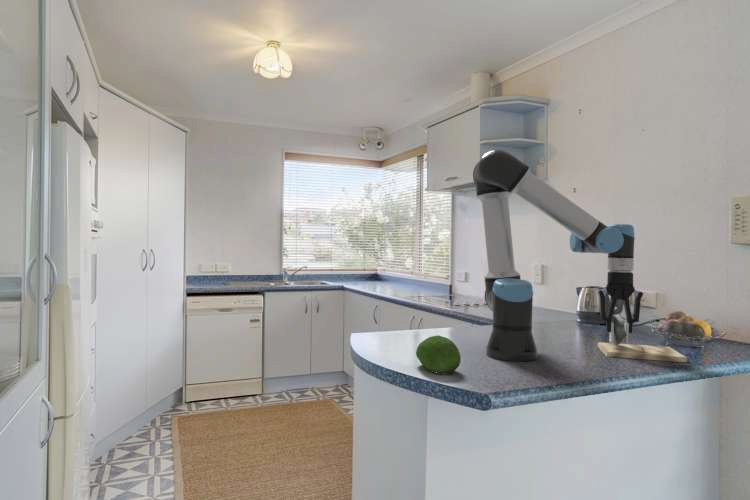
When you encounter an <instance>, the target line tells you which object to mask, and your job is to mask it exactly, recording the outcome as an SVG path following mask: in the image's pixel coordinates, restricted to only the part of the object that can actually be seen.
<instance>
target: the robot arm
mask: <svg viewBox="0 0 750 500" xmlns="http://www.w3.org/2000/svg"><path fill="white" fill-rule="evenodd" d="M531 170H532V169H531V167H530V166H528V165H527V164H526V163H524V162H522V161H521V160H520V159H519V158H517V157H516V156H515V155H514V154H512V153H510V152H508V151H506V150H503V149H493V150H489V151H487V152H486V153H484V154H483V155H482V157H481V158H480V159H479V160H478V162H477V163H476V164H475V166H474V168H473V171H472V179H473V183H474V186H475V192H476V198H477V199H479V201H481V205H482V215H483V217H482V218H483V227H484V235H485V236H484V237H485V246H486V247H485V248H486V255H487V256H486V258H487V268H488V271H487V273H486V275H485V276H484V284H485V290H484V301H485V302H484V303H485V304H486V306H487V308H488V309H489V310H490V311H492V331H491V333H490V336H489V339H488V342H487V345H486V351H485V353H486V356H488V357H490V358H493V359H496V360H502V361H509V362H529V361H530V362H531V361H535V360H537V359H538V353H539V352H538V348H537V345H536V341H535V338H534V336H533V335H534V334H533V300H534V299H533V298H534V297H533V296H534V289H533V284H532V283H531V282H530V281H528V280H525V279H521V274H520V273H519V272H518V271H517V270H516V267H515V257H514V248H513V237H512V236H513V235H512V227H511V218H510V217H511V216H510V214H511V213H510V206H509V197H511V195H512V194H516V195H517V196H519V197H520V198H522V199H523V200H525V201H526V202H528V203H529V204H530V205H532V206H533V207H535V208H537V210H539V211H540V212H542V213H543V214H544V215H546V216H548V217H549V218H550V219H552V221H555V222H556V223H557V224H559V225H560V226H562V227H563V228H564V229H566V230H567V231H569V232H570V236H569V246H570V247H569V249H571V251H572V252H574V253H580V254H583V253H584V254H586V253H587V254H588V253H589V254H590V253H591V254H595V253H597V254H599V253H600V254H607V270H608V272H607V283H606V285H605V288H603V289H598V290H597V294H598V297H599V317H600V319H601V320H602V321H605V323H606V325H605V327H606V328H605V329H606V332H607V333H609V335H608V336H609V340H608V341H609V343H614V323H613V322H611V321H612V317H613V316H614V313H615V308H616V303H617V301H619V300H622V303H623V308H624V312H625V319H626V322H624V324H623V325H624V327H623V329H624V331H625V332H626V334H627V336H625V337H624V338H623V344H629V340H630V339H629V338H630V337H629V335H630V334H632V333H633V324H634V323H639V322H640V312H641V300H642V298H643V296H644V293H643V292H642V291H639V290H636V288H635V287H634V273H633V271H634V261H635V260H634V259H635V258H634V254H635V239H636V238H635V229H634V228H635V227H634V225H632V224H629V223H627V224H625V223H621V224H618V223H617V224H616V223H615V224H610V225H609V226H607V224H604V223H603V222H601V221H600V220H599V219H597V218H595V217H594V216H593V215H591V214H590V213H589V212H588V211H586V210H584V209H582V208H581V207H580V206H579V205H577V204H576V203H574V202H573V201H572V200H570V199H569V198H567V196H564V195H563V194H562V193H560V192H559V191H558V190H556V189H555V188H553V187H552V186H550V185H549V184H548V183H546V182H545V181H544V180H542V179H541V178H539V177H538V176H537V175H535V174H534V173H533V172H532V171H531ZM607 294H608V295H609V296H610V301H609V305H608V310H607V313H606V297H605V296H606V295H607ZM632 295H633V296H634V301H633V302H634V303H633V314H632V310H631V305H630V297H631V296H632Z"/></svg>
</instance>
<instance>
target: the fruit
mask: <svg viewBox="0 0 750 500" xmlns="http://www.w3.org/2000/svg"><path fill="white" fill-rule="evenodd" d="M460 353H461V352H460V350H459V349H458V347H457V345H456V344H455V342H454V341H452V340H451V339H450V338H448V337H445V336H441V335H433V336H428V337H427V338H426V339H424V340H423V341H421V342H420V343H419V345H418V346H417V348H416V350H415V354H416V355H415V356H416V357H417V359H418V360H419V362H420V364H421V366H423V367H424V368H425V369H426V370H427V369H428V370H427V371H429V370H430V371H433V372H437V373H450V374H452V373H454V372H455V371H456V370H457V369H458V368H459V367H460V364H461V361H462V360H461V359H462V358H461V354H460ZM430 371H429V372H430ZM433 372H432V373H433ZM437 373H436V374H437Z"/></svg>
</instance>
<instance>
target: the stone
mask: <svg viewBox="0 0 750 500" xmlns="http://www.w3.org/2000/svg"><path fill="white" fill-rule="evenodd" d="M611 322H613V323H614V344H615V345H619V344H622V341H623V340H624V337H625V336H627V334H626V332H625V331H624V327H623V325H622V324H621V322H620V320H618V318H617V317H616V316H615V315H613V317H612V321H611Z"/></svg>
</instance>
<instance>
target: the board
mask: <svg viewBox="0 0 750 500" xmlns="http://www.w3.org/2000/svg"><path fill="white" fill-rule="evenodd" d="M597 347H598V349H600V351H601V352H602V353H603V354H604V355H605V357H609V358H610V357H611V358H623V359H634V360H635V359H636V360H649V361H662V362H663V361H664V362H676V363H678V362H679V363H688V362H687V360H688V358H687V356H685V355H684V354H682V353H680V352H678V351H677V350H675V349H674V348H672V347H670V346H659V345H646V344H645V345H644V344H633V343H632V344H630V343H628V344H626V343H620V344H619V345H615V344H614V343H611V342H600V341H599V342H597Z"/></svg>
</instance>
